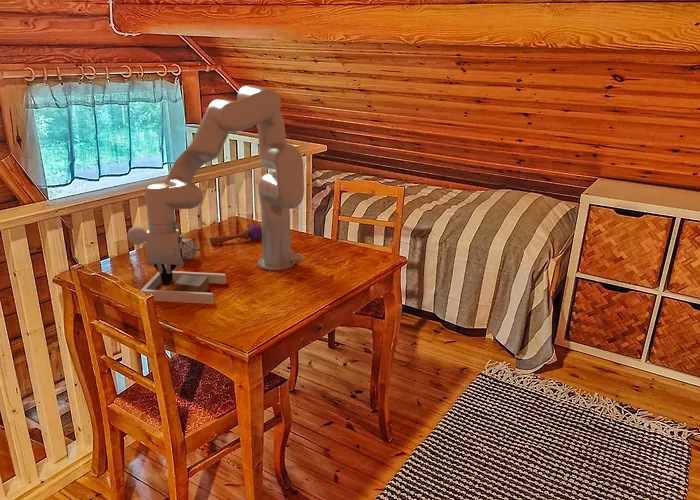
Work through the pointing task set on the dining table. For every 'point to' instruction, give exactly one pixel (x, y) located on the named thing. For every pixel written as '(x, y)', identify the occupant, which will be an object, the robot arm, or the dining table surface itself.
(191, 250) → the game die
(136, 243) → the lollipop
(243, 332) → the dining table surface
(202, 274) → the u-shaped grey frame
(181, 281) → the walnut block
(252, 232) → the kendama
